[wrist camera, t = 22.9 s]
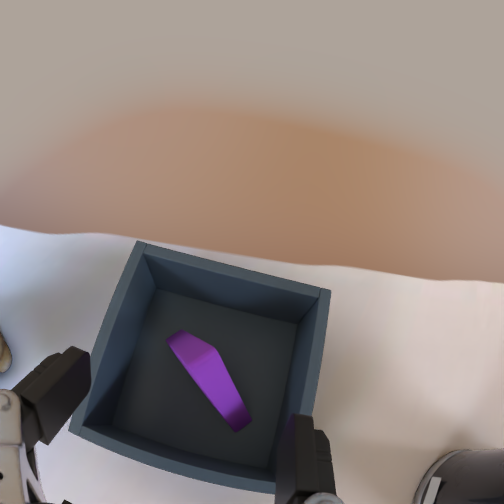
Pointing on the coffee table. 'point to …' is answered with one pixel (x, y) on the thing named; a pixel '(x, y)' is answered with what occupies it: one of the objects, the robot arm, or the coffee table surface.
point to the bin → (179, 380)
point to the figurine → (4, 355)
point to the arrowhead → (210, 377)
